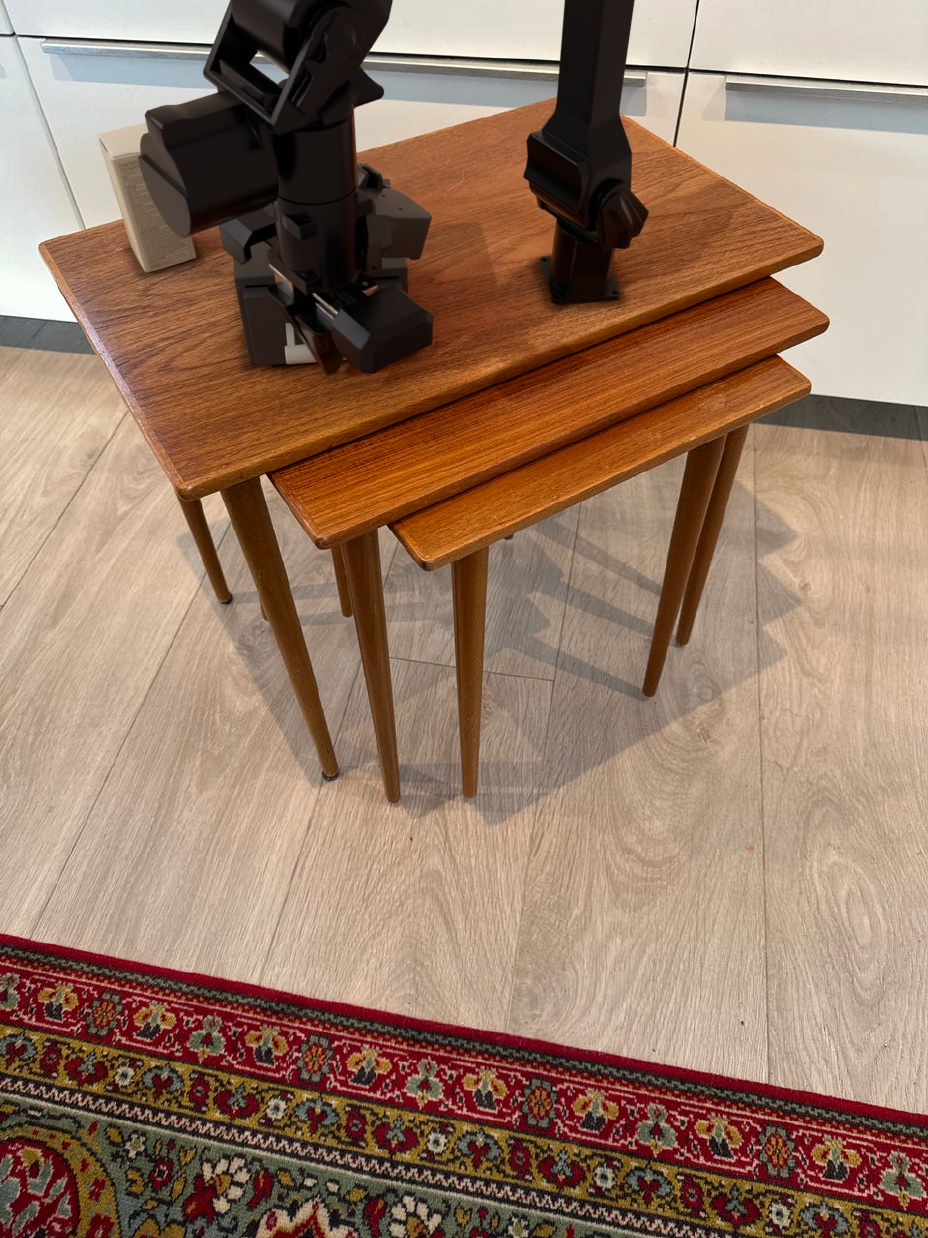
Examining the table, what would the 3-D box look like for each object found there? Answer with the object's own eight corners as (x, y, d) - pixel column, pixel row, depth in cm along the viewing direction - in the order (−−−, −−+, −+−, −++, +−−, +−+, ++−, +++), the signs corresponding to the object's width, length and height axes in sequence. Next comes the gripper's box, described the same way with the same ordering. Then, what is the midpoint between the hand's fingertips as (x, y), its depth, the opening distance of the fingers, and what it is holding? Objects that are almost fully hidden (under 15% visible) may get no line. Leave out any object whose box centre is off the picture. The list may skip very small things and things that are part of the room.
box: (182, 234, 88) (155, 118, 79) (198, 259, 86) (172, 142, 77) (128, 249, 86) (94, 131, 77) (143, 274, 84) (110, 157, 75)
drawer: (409, 388, 76) (409, 321, 71) (258, 400, 75) (245, 332, 69) (387, 271, 85) (385, 203, 79) (251, 280, 83) (239, 211, 77)
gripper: (501, 205, 59) (485, 394, 72) (332, 89, 67) (346, 278, 79) (360, 266, 54) (370, 456, 67) (197, 134, 62) (234, 327, 75)
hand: (331, 372), depth 72 cm, fingers closed
